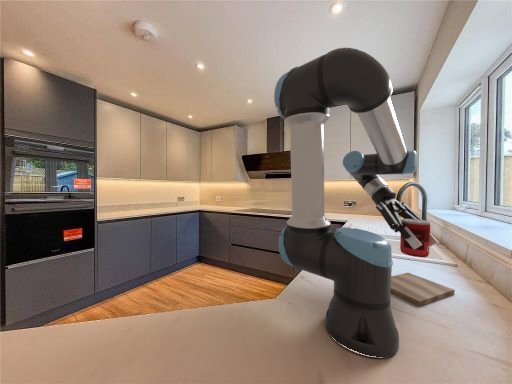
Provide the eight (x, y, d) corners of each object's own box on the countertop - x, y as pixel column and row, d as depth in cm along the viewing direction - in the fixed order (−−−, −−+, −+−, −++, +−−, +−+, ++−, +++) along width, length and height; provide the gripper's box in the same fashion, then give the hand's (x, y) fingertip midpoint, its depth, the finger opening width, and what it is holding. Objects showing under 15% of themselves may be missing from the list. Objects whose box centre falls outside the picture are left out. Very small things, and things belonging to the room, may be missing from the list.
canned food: (418, 250, 73) (419, 218, 72) (435, 258, 65) (437, 223, 64) (395, 249, 74) (396, 218, 73) (409, 257, 66) (410, 222, 65)
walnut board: (420, 306, 59) (420, 301, 59) (374, 284, 72) (374, 280, 72) (454, 294, 66) (454, 289, 66) (407, 276, 79) (407, 272, 79)
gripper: (390, 198, 87) (435, 247, 72) (354, 199, 79) (396, 255, 64) (404, 185, 82) (455, 236, 67) (367, 185, 73) (415, 242, 59)
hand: (426, 245), depth 66 cm, fingers closed on canned food, 8 cm apart
